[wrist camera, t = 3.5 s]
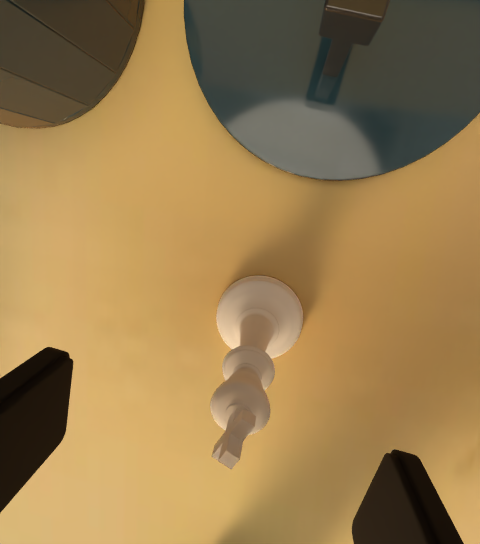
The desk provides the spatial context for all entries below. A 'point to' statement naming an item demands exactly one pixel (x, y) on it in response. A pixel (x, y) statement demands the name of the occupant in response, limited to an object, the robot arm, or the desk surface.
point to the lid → (338, 79)
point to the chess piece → (251, 356)
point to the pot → (61, 56)
